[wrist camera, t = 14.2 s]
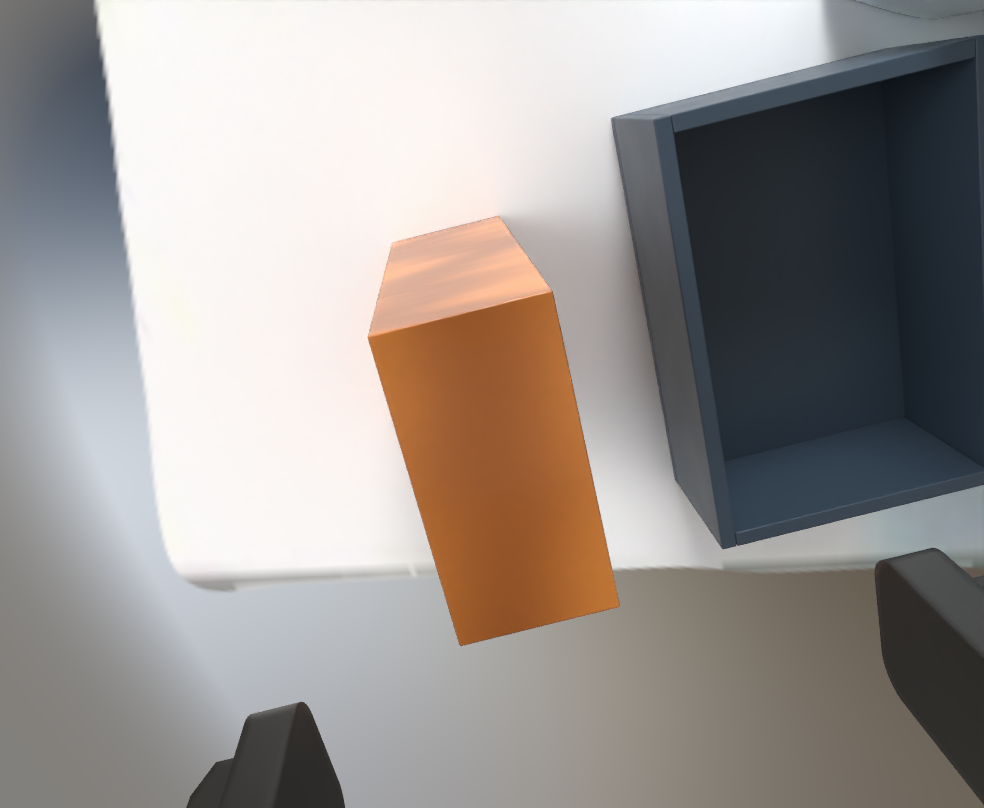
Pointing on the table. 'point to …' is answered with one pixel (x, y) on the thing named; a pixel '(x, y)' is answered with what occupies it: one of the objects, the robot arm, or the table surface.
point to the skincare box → (928, 7)
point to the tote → (816, 285)
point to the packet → (490, 431)
